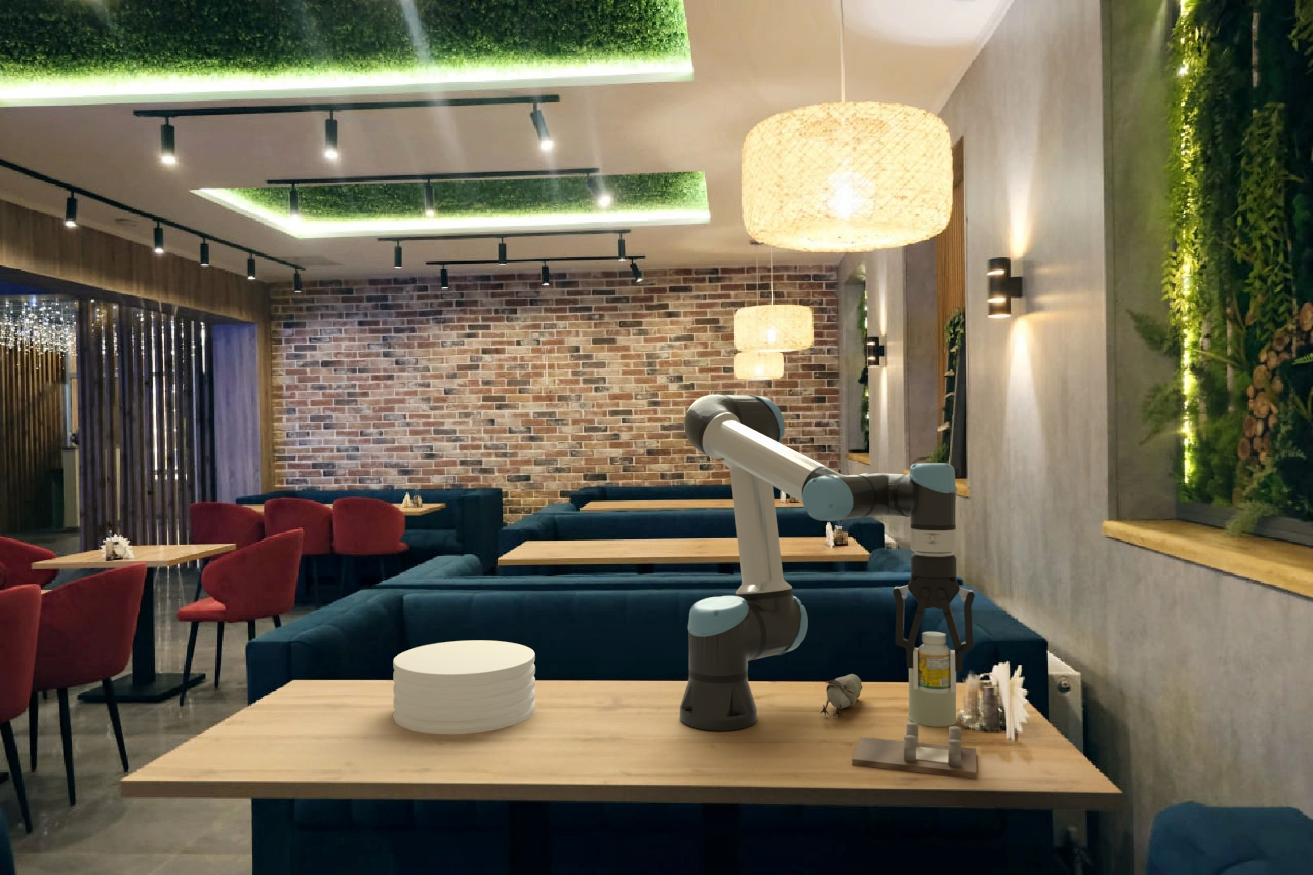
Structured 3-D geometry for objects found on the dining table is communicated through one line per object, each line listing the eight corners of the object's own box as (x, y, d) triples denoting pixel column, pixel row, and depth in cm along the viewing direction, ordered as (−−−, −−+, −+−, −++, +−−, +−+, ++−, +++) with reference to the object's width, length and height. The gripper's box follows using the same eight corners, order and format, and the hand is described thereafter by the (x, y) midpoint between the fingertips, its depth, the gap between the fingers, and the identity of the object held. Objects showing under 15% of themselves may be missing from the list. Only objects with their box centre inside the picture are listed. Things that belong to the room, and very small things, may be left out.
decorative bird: (869, 701, 197) (869, 665, 197) (842, 722, 183) (842, 683, 183) (844, 697, 200) (844, 662, 200) (816, 717, 186) (816, 679, 186)
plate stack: (472, 744, 171) (472, 681, 171) (363, 720, 185) (362, 662, 185) (562, 704, 195) (561, 649, 195) (459, 686, 209) (459, 635, 209)
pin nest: (852, 764, 160) (852, 735, 159) (859, 742, 171) (859, 714, 171) (976, 778, 153) (976, 748, 153) (975, 754, 165) (975, 725, 164)
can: (951, 713, 188) (951, 653, 188) (961, 727, 179) (961, 665, 179) (904, 711, 189) (904, 652, 189) (912, 726, 180) (912, 664, 180)
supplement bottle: (951, 695, 157) (950, 638, 157) (917, 692, 159) (917, 636, 159) (950, 686, 162) (950, 631, 162) (918, 684, 164) (918, 630, 164)
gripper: (876, 554, 160) (877, 690, 160) (990, 557, 154) (991, 698, 154) (880, 549, 167) (881, 679, 167) (989, 552, 161) (991, 687, 161)
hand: (934, 688), depth 161 cm, fingers closed on supplement bottle, 5 cm apart
